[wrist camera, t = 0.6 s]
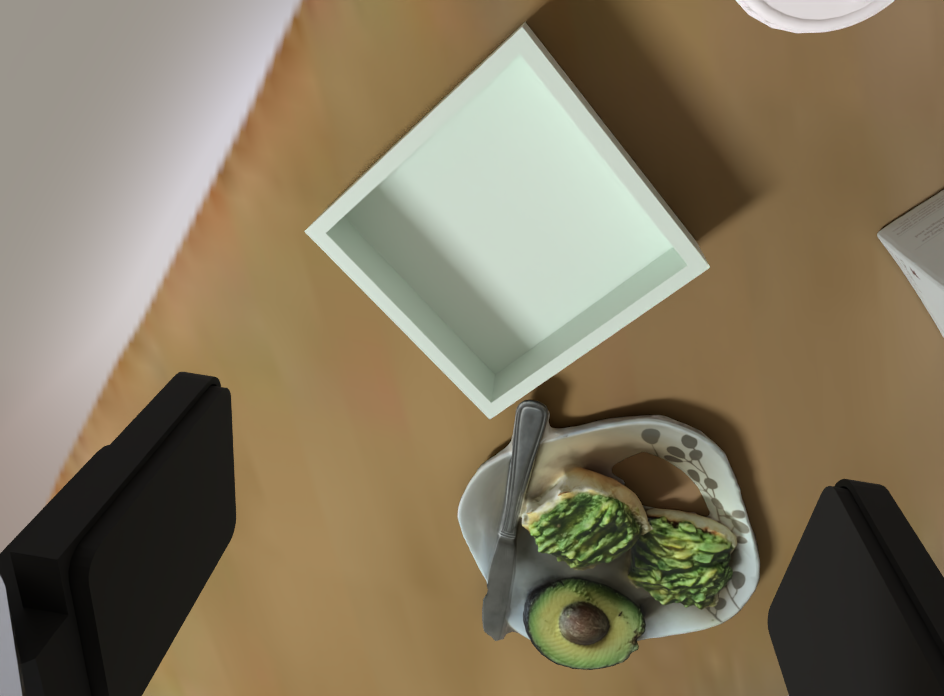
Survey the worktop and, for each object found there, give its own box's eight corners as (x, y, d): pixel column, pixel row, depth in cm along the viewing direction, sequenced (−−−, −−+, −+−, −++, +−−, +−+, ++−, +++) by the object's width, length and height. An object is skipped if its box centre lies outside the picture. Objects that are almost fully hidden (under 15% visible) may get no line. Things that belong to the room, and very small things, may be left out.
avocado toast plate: (396, 418, 42) (379, 466, 38) (706, 339, 38) (724, 383, 34) (503, 645, 50) (498, 704, 46) (769, 600, 46) (790, 661, 41)
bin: (525, 21, 31) (522, 26, 28) (696, 241, 35) (710, 267, 32) (325, 209, 36) (304, 231, 33) (494, 384, 40) (489, 419, 37)
